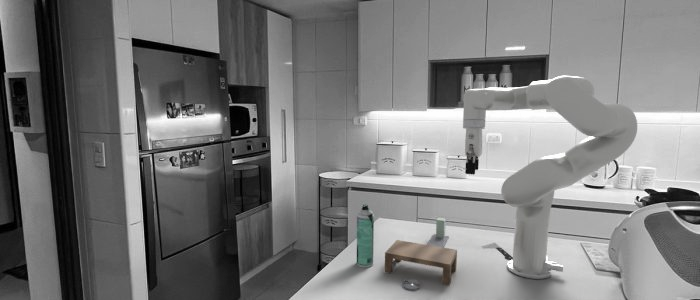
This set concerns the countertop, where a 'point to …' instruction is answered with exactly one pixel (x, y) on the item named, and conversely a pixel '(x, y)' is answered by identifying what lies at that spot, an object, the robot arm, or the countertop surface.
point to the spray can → (365, 237)
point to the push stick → (439, 234)
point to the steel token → (411, 284)
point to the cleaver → (499, 250)
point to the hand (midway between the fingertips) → (471, 171)
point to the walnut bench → (422, 257)
